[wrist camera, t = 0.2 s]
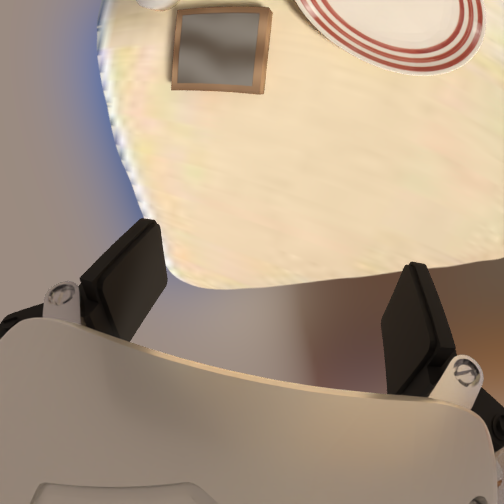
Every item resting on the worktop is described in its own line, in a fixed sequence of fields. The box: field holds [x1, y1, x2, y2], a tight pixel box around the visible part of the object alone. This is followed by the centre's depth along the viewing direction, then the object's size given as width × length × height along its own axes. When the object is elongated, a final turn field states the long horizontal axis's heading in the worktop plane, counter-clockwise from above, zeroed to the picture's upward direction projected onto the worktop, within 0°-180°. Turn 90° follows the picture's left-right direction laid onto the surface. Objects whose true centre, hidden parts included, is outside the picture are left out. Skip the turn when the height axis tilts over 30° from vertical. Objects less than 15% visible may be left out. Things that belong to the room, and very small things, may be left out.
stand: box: [171, 7, 273, 94], centre depth 30 cm, size 12×12×3 cm
